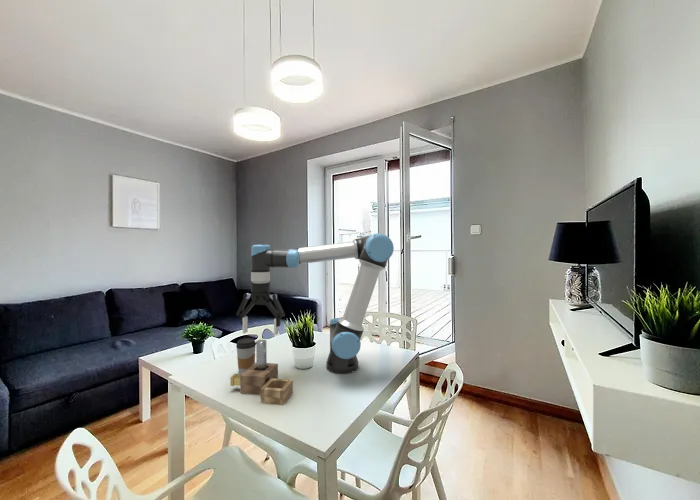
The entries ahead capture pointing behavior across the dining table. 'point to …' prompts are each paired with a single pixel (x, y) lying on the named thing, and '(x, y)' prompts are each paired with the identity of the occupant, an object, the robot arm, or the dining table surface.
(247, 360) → the coffee cup
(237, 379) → the drift key
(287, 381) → the block
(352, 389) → the dining table surface
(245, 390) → the socket block
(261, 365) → the grey metal rod
